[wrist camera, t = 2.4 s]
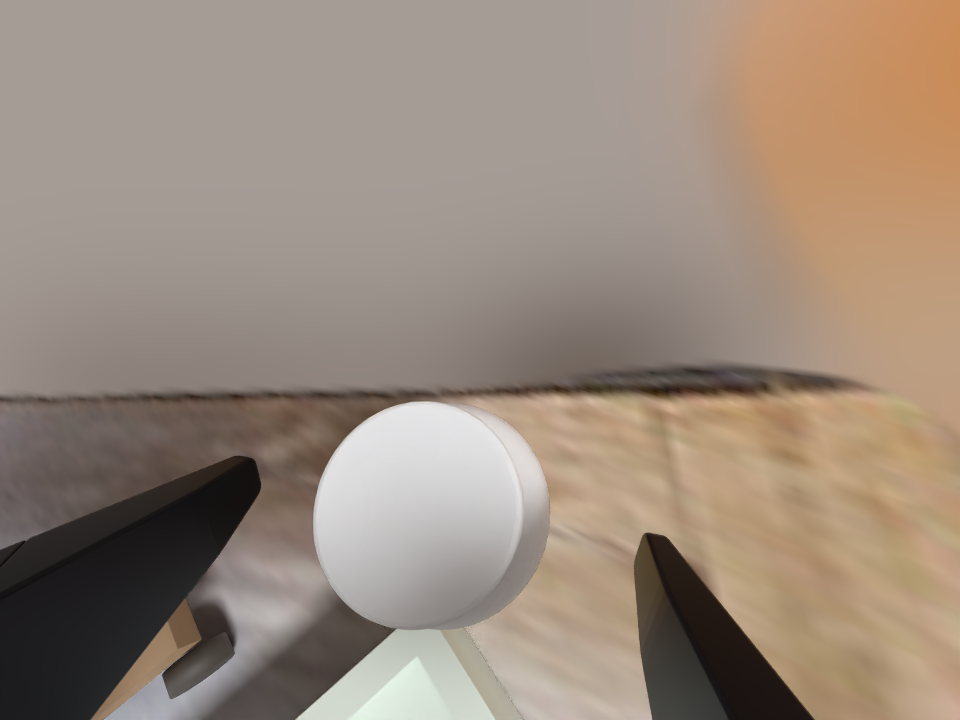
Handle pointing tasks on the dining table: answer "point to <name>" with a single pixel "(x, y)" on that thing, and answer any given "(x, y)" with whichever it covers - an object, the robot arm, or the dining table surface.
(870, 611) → the dining table surface
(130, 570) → the robot arm
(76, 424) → the dining table surface
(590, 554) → the dining table surface
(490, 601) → the supplement bottle
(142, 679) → the cart
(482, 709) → the tray
